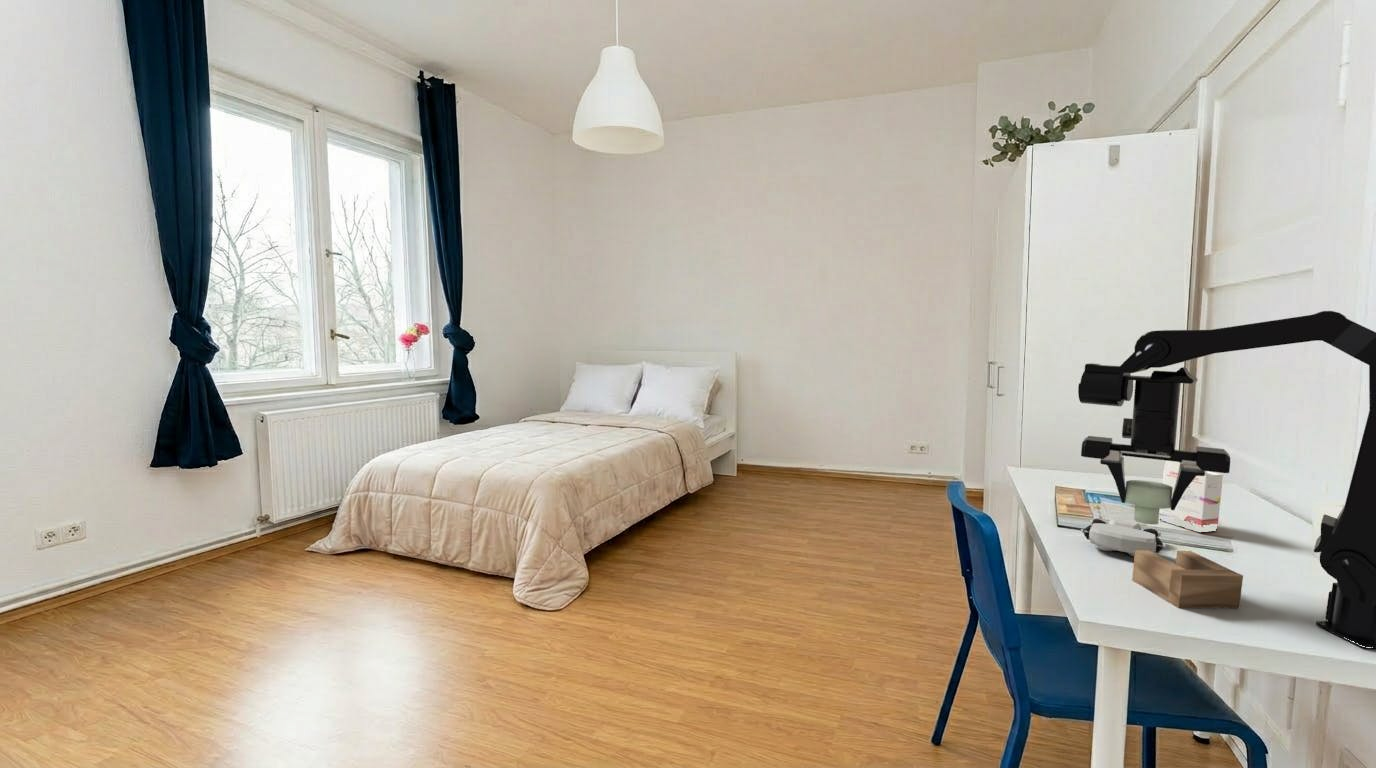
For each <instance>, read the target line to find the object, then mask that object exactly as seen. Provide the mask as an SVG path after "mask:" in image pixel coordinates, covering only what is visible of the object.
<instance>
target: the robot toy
mask: <svg viewBox="0 0 1376 768" xmlns="http://www.w3.org/2000/svg"><path fill="white" fill-rule="evenodd" d="M1089 523H1090V524H1089V525H1088V526H1086V527H1085V528H1084V529H1083V528H1081V529H1080V532H1081V533H1083V535H1084V537H1085V538H1086V539H1087V540H1089V543H1091V544H1092V545H1094V546H1095V547H1096V548H1098V549H1099V550H1100V551H1103V552H1112V551H1119V552H1123V553H1127V554H1128V555H1130V556H1131V557H1135V550H1149V551H1151V552H1153V553H1155V554H1158V553H1159V552H1161V551H1163V549H1166V544H1163V541H1162V540H1161V539H1160V538H1159V537H1161V536H1162V533H1161V532H1159V531H1158V530H1156V529H1155V528H1145V529H1143V530H1142V527H1141V525H1140V524H1139V522H1136V521H1132V520H1126V519H1121V518H1111V519H1110V520H1108V522H1106V521H1105V520H1102V519H1100V518H1095V519H1090V521H1089Z"/></svg>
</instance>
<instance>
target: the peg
mask: <svg viewBox="0 0 1376 768" xmlns="http://www.w3.org/2000/svg"><path fill="white" fill-rule="evenodd" d="M1125 487H1126V491H1125V493H1126V495H1125V503H1128V504H1131V505H1133V506H1134V513H1133V520H1134V522H1136V523H1141V524H1145V525H1158V524H1159V521H1160V520H1159V512H1160V509H1166V508H1170V507H1171V500H1172V487H1171V486H1169V485H1166V484H1163V482H1157V481H1152V480H1141V479H1129V480H1125Z"/></svg>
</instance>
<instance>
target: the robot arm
mask: <svg viewBox="0 0 1376 768" xmlns="http://www.w3.org/2000/svg"><path fill="white" fill-rule="evenodd" d="M1315 341H1318V342H1319V341H1320V342H1321V341H1322V342H1324V343H1326V344H1329V345H1330V346H1332V347H1333V348H1336V349H1338V350H1339V351H1341V352H1343V353H1345V354H1346V355H1348V356H1351V357H1352V358H1354V359H1356V360H1358V361H1360V362H1361V363H1364V364H1365V365H1368V367H1369V368H1368V374H1369V375H1368V378H1369V381H1368V383H1369V386H1368V388H1369V389H1368V390H1369V392H1368V393H1369V394H1368V395H1369V401H1368V403H1369V408H1368V409H1369V411H1368V414H1367V417H1366V422H1365V426H1364V430H1363V434H1362V437H1361V441H1360V445H1359V449H1358V453H1357V457H1356V461H1355V464H1354V468H1353V473H1352V476H1351V480H1350V484H1349V488H1348V491H1347V496H1346V499H1345V503H1344V506H1343V507H1342V509H1341V511H1340V512H1339V514H1338V515H1337V517H1333V516H1332V515H1327V514H1323V516H1322V518H1321V523H1320V535H1319V536H1318V538H1316V541H1315V545H1314V548H1313V553H1320V554H1319V564H1320V566H1321V568H1322V569H1323V570H1324V571H1325V572H1326V573H1327V575H1329V576H1330V577H1332V578H1333V579H1335V580H1336V582H1332V585H1331V590H1330V591H1329V592H1328V596H1327V604H1326V611H1325V616H1324V617H1325V620H1316V621H1315V625H1316V626H1318V627H1320V628H1321V629H1324V630H1326V631H1328V632H1331V633H1332V632H1333V633H1332V634H1334V633H1335V634H1334V635H1336V634H1337V635H1336V636H1338V635H1340V636H1342V637H1345V638H1347V639H1349V640H1351V641H1354V642H1355V643H1358V644H1359V645H1362V646H1365V647H1373V648H1376V331H1374V330H1372V329H1370V328H1367V327H1365V326H1363V325H1361V324H1359V323H1357V322H1356V321H1353V320H1351V319H1349V318H1348V317H1346V315H1344V314H1342V313H1341V312H1338V311H1334V310H1323V311H1318V312H1316V313H1313V314H1309V315H1301V316H1295V317H1294V316H1293V317H1288V318H1282V319H1280V318H1279V319H1274V320H1269V321H1261V322H1254V323H1247V324H1240V325H1233V326H1227V327H1218V328H1214V329H1172V330H1171V329H1169V330H1167V329H1165V330H1164V329H1163V330H1162V329H1161V330H1151V331H1147V332H1145V333H1143V334H1141V336H1140V337H1139V338H1138V339H1137V340H1136V342H1135V345H1134V352H1132V354H1131V355H1130V356H1128V358H1126V360H1124V361H1123V362H1122V363H1121V365H1109V364H1108V365H1106V364H1105V365H1104V364H1101V363H1092V362H1091V363H1086V364H1085V365H1084V371H1083V372H1082V375H1081V378H1080V382H1079V383H1078V389H1077V390H1078V391H1077V392H1078V393H1077V394H1078V400H1079V402H1080V403H1081V404H1087V405H1088V404H1089V405H1100V406H1108V407H1109V406H1111V407H1122V406H1123V405H1124V403H1125V402H1129V401H1131V400H1132V398H1133V396H1134V398H1133V411H1132V418H1128V417H1127V418H1125V417H1123V422H1122V431H1121V438H1122V439H1130V444H1123V443H1113V438H1112V437H1104V436H1103V437H1102V436H1093V435H1089V436H1087V437H1085V438H1084V439H1083V441H1082V443H1081V452H1080V456H1081V457H1083V458H1089V459H1090V458H1091V459H1098V460H1099V464H1101V465H1106V466H1107V467H1108V470H1109V471H1110V474H1111V476H1112V477H1113V479H1114V482H1115V485H1116V488H1117V492H1118V494H1119V497H1120V501H1121V503H1122V504H1125V503H1126V501H1125V495H1126V493H1125V491H1126V479H1125V476H1126V475H1125V474H1126V473H1125V458H1124V457H1132V458H1141V459H1148V460H1150V459H1151V460H1159V461H1165V462H1166V461H1175V462H1179V463H1181V464H1180V467H1179V472H1178V476H1177V480H1176V484H1175V488H1174V492H1173V496H1172V500H1171V510H1174V509H1175V508H1176V506H1177V504H1178V502H1179V500H1180V499H1181V497H1182V495H1183V493H1184V491H1185V490H1186V488H1187V487H1188V486H1189V485H1190V483H1191V482H1192V481H1193V480H1194V478H1195V477H1196V476H1205V471H1209V472H1214V473H1218V474H1230V468H1231V457H1230V454H1229V453H1228V452H1227V450H1225V449H1224V448H1215V447H1209V446H1208V447H1206V446H1195V451H1194V450H1193V451H1191V450H1183V449H1182V450H1181V449H1176V443H1177V442H1176V441H1177V431H1178V430H1177V429H1178V418H1179V408H1180V395H1181V385H1182V384H1187V385H1188V384H1189V385H1190V384H1194V383H1197V382H1198V377H1196V376H1194V375H1193V374H1192V373H1191V372H1190V371H1189V370H1188V368H1187V367H1186V366H1182V367H1180V368H1179V369H1178V370H1176V371H1173V370H1172V371H1169V370H1153V371H1152V373H1151V375H1150V376H1146V375H1131V374H1135V373H1140V372H1143V371H1147V370H1149V369H1151V368H1152V369H1153V368H1155V369H1157V368H1164V367H1165V368H1166V367H1169V366H1173V365H1176V364H1177V365H1178V364H1180V363H1184V362H1188V361H1192V360H1195V359H1199V358H1202V357H1206V356H1211V355H1214V354H1220V353H1228V352H1229V353H1230V352H1236V351H1243V350H1244V351H1245V350H1252V349H1259V348H1261V349H1262V348H1267V347H1268V348H1269V347H1275V346H1276V347H1277V346H1282V345H1283V346H1284V345H1290V344H1291V345H1292V344H1299V343H1307V342H1308V343H1309V342H1315ZM1134 381H1135V383H1134ZM1133 393H1134V395H1133ZM1340 636H1339V637H1340ZM1342 637H1341V638H1342Z"/></svg>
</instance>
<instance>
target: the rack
mask: <svg viewBox="0 0 1376 768" xmlns="http://www.w3.org/2000/svg"><path fill="white" fill-rule="evenodd" d="M1133 557H1134V556H1133ZM1243 580H1244V575H1243V574H1240V573H1238V572H1236V571H1234V570H1232V569H1230V568H1228V567H1226V566H1223V565H1221V564H1219V563H1217V562H1216V561H1213V560H1211V559H1209V558H1206V557H1205V556H1202V555H1201V554H1198V553H1196V552H1193V551H1192V550H1176V557H1175V563H1173V562H1172V561H1170V560H1168V559H1166V558H1164V557H1162V556H1160V555H1159V554H1158V553H1153V552H1151V551H1149V550H1135V557H1134V558H1133V570H1132V578H1131V581H1133V582H1134V583H1136V584H1138V585H1140V586H1141V587H1142V588H1145V590H1148V591H1150V592H1152V593H1153V594H1155V596H1157V597H1159V598H1161V599H1162V600H1165V601H1167V602H1168V603H1170V604H1171V605H1173V606H1175V607H1177V608H1178V609H1240V606H1241V605H1240V604H1241V596H1242V587H1243Z"/></svg>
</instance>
